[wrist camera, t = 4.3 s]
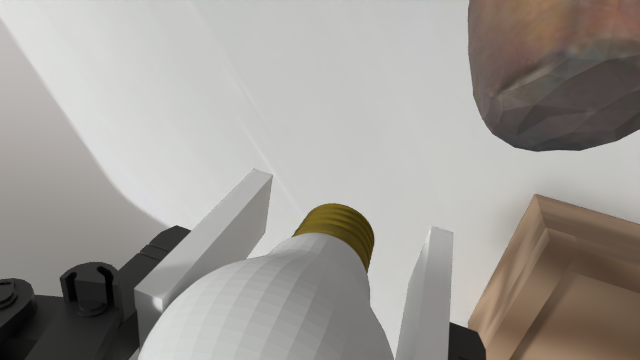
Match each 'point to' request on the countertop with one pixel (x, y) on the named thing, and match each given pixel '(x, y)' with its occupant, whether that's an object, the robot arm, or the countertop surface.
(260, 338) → the light bulb
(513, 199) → the countertop surface
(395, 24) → the countertop surface
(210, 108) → the countertop surface
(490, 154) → the countertop surface
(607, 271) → the tray
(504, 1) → the mortar and pestle
